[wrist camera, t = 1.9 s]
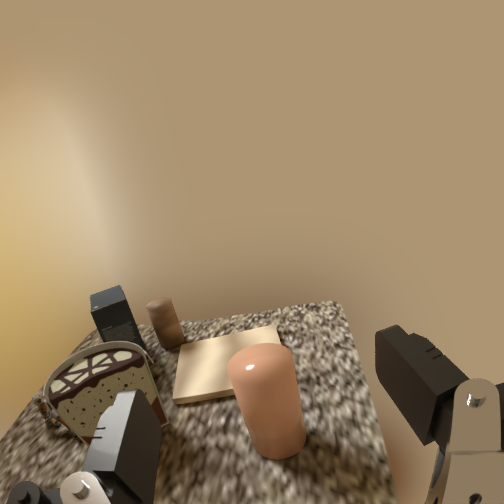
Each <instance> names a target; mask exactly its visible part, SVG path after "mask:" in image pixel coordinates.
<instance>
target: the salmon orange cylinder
mask: <svg viewBox="0 0 504 504" xmlns="http://www.w3.org/2000/svg"><path fill="white" fill-rule="evenodd" d="M227 372H228V375H229V378H230V381H231V384H232V387H233V390H234V393H235V395H236V398H237V401H238V404H239V407H240V409H241V412H242V415H243V418H244V420H245V423H246V426H247V429H248V431H249V434H250V437H251V439H252V442H253V445H254V447H255V449H256V451H257V452H258V453H259V454H260V455H261V456H263V457H265V458H268V459H274V460H279V459H285V458H289V457H291V456H293V455H295V454H296V453H298V452H299V451H300V450H301V449H302V448H303V446H304V444H305V442H306V430H305V425H304V419H303V413H302V407H301V401H300V396H299V390H298V384H297V379H296V373H295V367H294V362H293V356H292V353H291V352H290V350H289V349H288V348H286V347H285V346H282V345H280V344H275V343H261V344H255V345H252V346H249V347H246V348H244V349H242V350H240V351H239V352H237V353H236V354H235V355H234V356H233V357H232V358H231V359H230V360H229V362H228V365H227Z"/></svg>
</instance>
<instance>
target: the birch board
mask: <svg viewBox="0 0 504 504" xmlns="http://www.w3.org/2000/svg"><path fill="white" fill-rule="evenodd" d="M261 343H275V344H280V345H281V342H280V339H279V336H278V333H277V330H276V327H275V325H274V324H273V325H268V326H264V327H260V328H256V329H252V330H247V331H243V332H239V333H234V334H230V335H225V336H221V337H216V338H211V339H206V340H201V341H196V342H191V343H186V344H181V347H180V353H179V360H178V366H177V372H176V378H175V385H174V392H173V401H174V403H175V405H177V404H184V403H191V402H197V401H203V400H209V399H215V398H220V397H226V396H231V395H235V393H234V390H233V387H232V384H231V381H230V378H229V375H228V372H227V365H228V362H229V360H230V359H231V358H232V357H233V356H234V355H235V354H236V353H237V352H239V351H240V350H242V349H244V348H246V347H249V346H252V345H255V344H261Z"/></svg>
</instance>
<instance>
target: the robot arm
mask: <svg viewBox="0 0 504 504" xmlns="http://www.w3.org/2000/svg"><path fill="white" fill-rule="evenodd" d="M375 353H376V354H375V367H376V373H377V376H378V379H379V381H380V383H381V384H382V386H383V387H384V389H385V390H386V391H387V393H388V394H389V396H390V397H391V399H392V400H393V401H394V403H395V404H396V406H397V407H398V408H399V410H400V411H401V413H402V414H403V416H404V417H405V418H406V420H407V422H408V423H409V425H410V426H411V428H412V429H413V430H414V432H415V433H416V435H417V436H418V438H419V439H420V441H421V442H422V444H423V445H424V446H425V445H427V444H429V443H431V442H433V441H436V443H437V444H438V445H439V447H438V450H437V455H436V460H435V465H434V470H433V474H432V479H431V484H430V487H429V491H428V495H427V499H426V501H425V504H504V383H501V384H498V385H494V384H493V383H491V382H490V381H487V380H485V379H469V378H468V377H467V376H466V375H465V374H464V373H463V372H462V371H461V370H460V369H459V368H458V367H457V366H455V365H454V364H453V363H452V362H451V361H450V360H449V359H448V358H447V357H446V356H445V355H443V354H442V352H441V351H440V350H439V349H438V348H435V346H434V345H433V344H432V343H431V342H430V341H429V340H427V338H424V337H422V336H420V335H417V334H415V333H413V334H410V335H408V334H407V333H406V332H405V331H404V330H403V329H402V328H401V327H400V326H398V325H394V326H391V327H389V328H386V329H383V330H380V331H378V332H376V335H375ZM93 437H94V439H92V442H91V444H90V447H89V450H88V453H87V456H86V459H85V462H84V465H83V468H82V471H81V472H76V473H74V474H72V475H70V476H68V477H67V478H66V479H65V480H64V482H63V483H62V485H61V488H57V489H51V490H45V491H42V490H41V489H40V488H39V487H38V486H37V485H36V484H35V483H33V482H30V481H23V482H21V483H18V484H17V485H16V486H15V487H14V488H13V489H12V490H11V492H10V495H9V498H8V500H7V503H6V504H153V500H154V491H155V482H156V474H157V467H158V459H159V452H160V445H161V438H162V428H161V424H160V421H159V419H158V417H157V415H156V414H155V412H154V410H153V408H152V407H151V405H150V403H149V401H148V400H147V398H146V396H145V394H144V393H143V391H142V390H141V389H133V390H125V391H119V392H118V394H117V396H116V399H115V402H114V405H113V406H109V407H108V408H107V410H106V411H105V412H104V413H103V414H102V416H101V417H100V420H99V422H98V425H97V430H95V433H94V436H93Z"/></svg>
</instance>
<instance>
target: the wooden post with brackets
mask: <svg viewBox="0 0 504 504" xmlns="http://www.w3.org/2000/svg"><path fill="white" fill-rule="evenodd" d="M32 400H33V401H34V404H36V405H37V406H38V407H39V409H40V414H41V415H42V417H43V418H44V419H45V420H46V418H48V420H49V422H50V424H51V423H53V424H54V425H55V426H56V425H57V426H60V425H61V423H62V424H63V425H65V426H66V427H67V428H68V429H70V428H69V426H68V425H67V424H66V423H65V422H64V421H63V420H62V419H61V418H60V416H59V415H58V414H57V413H56V412H55V411H54V410H53V408H52V407H51V414H50V413H49V411H48V409H47V406H46V404H45V403H44V401H43V400H42V399H40V398H39V397H38V396H36V397H35V396H33V397H32ZM46 412H47V413H48V415H47V413H46ZM50 415H51V416H50ZM60 422H61V423H60ZM70 430H71V429H70ZM71 431H72V430H71ZM72 434H73V436H74V437H75V436H76V434H75V433H74V432H73V431H72Z"/></svg>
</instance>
